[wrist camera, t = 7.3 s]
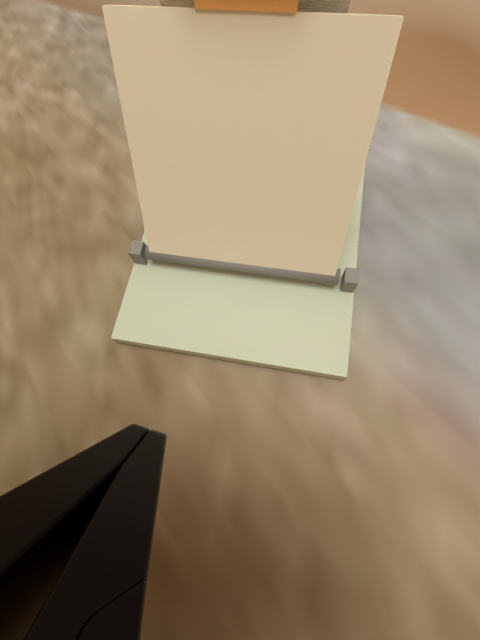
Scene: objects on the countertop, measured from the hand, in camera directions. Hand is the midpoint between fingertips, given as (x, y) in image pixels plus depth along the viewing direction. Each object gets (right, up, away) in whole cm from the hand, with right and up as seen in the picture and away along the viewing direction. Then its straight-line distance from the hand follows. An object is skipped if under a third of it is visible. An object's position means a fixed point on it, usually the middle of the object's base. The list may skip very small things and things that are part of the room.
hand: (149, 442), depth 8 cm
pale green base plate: (+3, +8, +17) cm, 19 cm away
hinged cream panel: (+2, +6, +14) cm, 16 cm away
